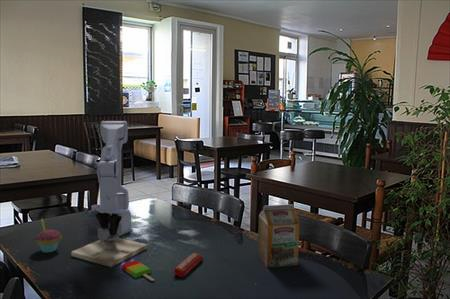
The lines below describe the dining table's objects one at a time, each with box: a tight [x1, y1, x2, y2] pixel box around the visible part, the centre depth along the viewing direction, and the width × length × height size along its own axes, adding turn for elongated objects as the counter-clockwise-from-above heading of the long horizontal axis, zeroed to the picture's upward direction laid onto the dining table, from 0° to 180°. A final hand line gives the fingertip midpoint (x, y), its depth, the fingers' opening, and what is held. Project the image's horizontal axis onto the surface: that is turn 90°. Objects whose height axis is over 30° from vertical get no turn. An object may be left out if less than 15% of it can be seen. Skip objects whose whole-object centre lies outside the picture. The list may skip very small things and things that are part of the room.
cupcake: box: [34, 217, 63, 253], centre depth 145 cm, size 9×8×12 cm
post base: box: [71, 237, 148, 268], centre depth 144 cm, size 18×18×4 cm
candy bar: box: [173, 252, 203, 278], centre depth 133 cm, size 16×4×3 cm, turn 159°
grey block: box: [97, 223, 121, 242], centre depth 144 cm, size 8×6×5 cm
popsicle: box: [121, 260, 155, 282], centre depth 128 cm, size 6×15×2 cm, turn 42°
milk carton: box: [257, 204, 300, 268], centre depth 138 cm, size 11×11×19 cm
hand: (109, 233), depth 144 cm, fingers closed on grey block, 3 cm apart
